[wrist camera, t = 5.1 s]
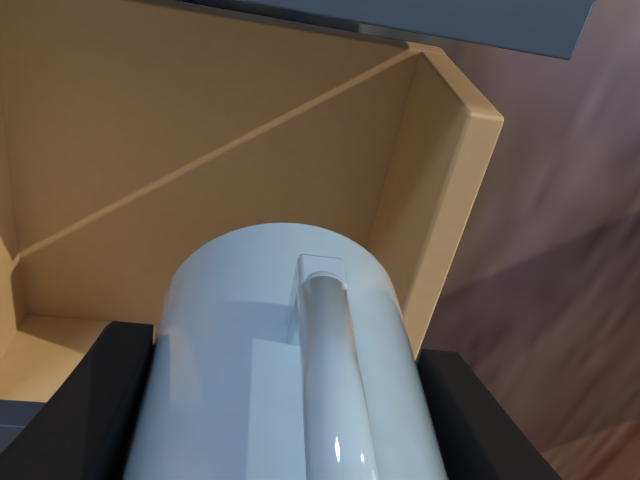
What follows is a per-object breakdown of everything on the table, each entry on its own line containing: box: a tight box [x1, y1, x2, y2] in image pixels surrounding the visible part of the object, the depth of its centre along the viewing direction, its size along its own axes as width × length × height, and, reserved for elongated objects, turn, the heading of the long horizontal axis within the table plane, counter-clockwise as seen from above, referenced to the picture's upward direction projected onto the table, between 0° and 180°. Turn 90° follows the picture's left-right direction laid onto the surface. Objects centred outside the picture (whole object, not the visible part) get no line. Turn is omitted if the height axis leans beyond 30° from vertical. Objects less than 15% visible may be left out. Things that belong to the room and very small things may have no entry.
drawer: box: [0, 0, 595, 403], centre depth 15 cm, size 15×13×6 cm
